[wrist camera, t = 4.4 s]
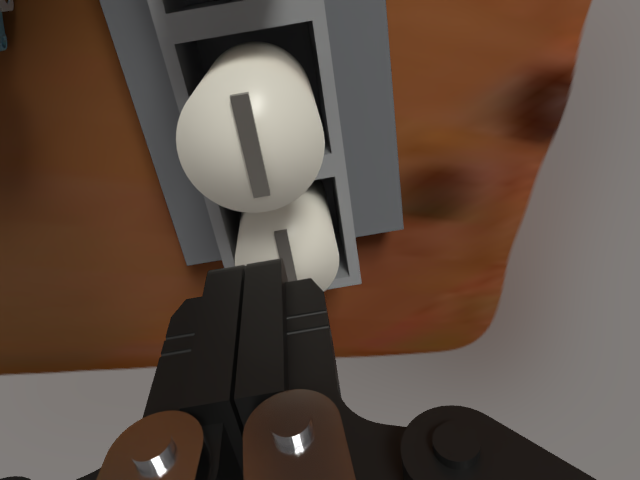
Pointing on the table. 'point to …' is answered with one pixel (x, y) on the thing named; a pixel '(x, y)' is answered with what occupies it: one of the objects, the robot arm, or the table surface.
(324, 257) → the knob
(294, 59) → the knob mid
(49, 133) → the table surface
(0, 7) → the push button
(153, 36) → the grey compartment box
